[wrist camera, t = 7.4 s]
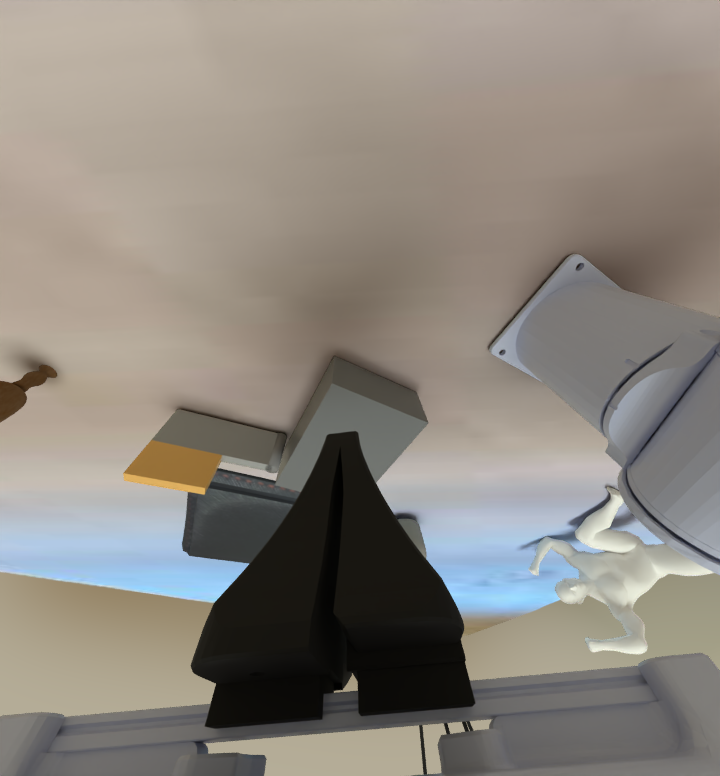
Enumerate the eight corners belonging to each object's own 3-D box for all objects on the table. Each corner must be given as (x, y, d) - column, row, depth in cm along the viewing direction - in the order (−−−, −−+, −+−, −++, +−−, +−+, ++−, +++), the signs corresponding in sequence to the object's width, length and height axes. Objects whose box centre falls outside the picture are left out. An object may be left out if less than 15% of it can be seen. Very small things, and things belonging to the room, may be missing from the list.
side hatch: (177, 407, 23) (123, 471, 17) (288, 434, 25) (271, 498, 19) (177, 416, 23) (124, 481, 18) (285, 442, 26) (268, 507, 20)
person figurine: (745, 577, 23) (608, 677, 29) (780, 560, 28) (657, 647, 34) (589, 469, 34) (514, 559, 40) (635, 471, 39) (562, 550, 45)
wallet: (185, 471, 26) (330, 503, 30) (195, 456, 27) (331, 488, 32) (172, 560, 36) (283, 575, 40) (180, 546, 37) (285, 561, 41)
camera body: (416, 392, 23) (430, 427, 19) (350, 476, 29) (351, 515, 26) (334, 355, 21) (331, 387, 17) (281, 455, 27) (270, 495, 23)
